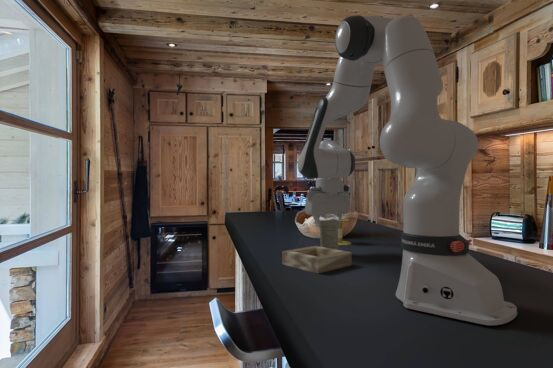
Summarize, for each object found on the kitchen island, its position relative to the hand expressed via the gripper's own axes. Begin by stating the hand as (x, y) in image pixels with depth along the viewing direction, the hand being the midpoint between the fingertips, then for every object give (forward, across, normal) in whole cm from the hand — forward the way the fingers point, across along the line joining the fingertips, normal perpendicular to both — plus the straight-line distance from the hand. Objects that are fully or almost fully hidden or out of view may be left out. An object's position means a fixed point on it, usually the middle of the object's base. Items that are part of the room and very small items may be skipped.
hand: (327, 226), depth 124 cm
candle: (+10, +20, +11) cm, 25 cm away
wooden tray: (+10, -15, -8) cm, 20 cm away
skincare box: (+10, 0, -1) cm, 10 cm away
